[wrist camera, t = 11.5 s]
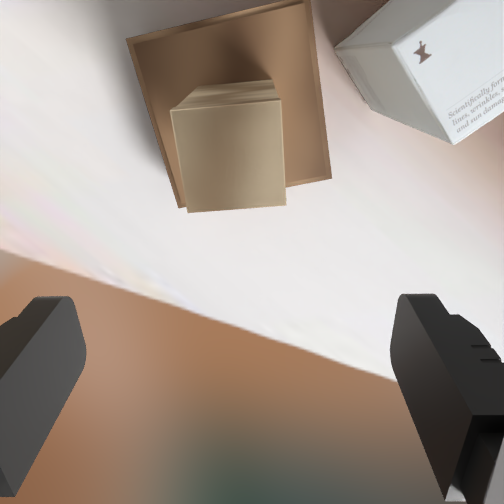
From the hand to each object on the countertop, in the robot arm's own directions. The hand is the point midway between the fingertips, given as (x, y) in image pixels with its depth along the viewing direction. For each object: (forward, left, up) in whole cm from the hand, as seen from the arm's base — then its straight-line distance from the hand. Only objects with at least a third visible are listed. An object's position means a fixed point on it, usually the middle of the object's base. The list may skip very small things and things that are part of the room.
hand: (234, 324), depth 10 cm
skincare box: (-11, -6, -26) cm, 29 cm away
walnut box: (+1, -2, -27) cm, 27 cm away
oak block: (+1, -1, -21) cm, 21 cm away
